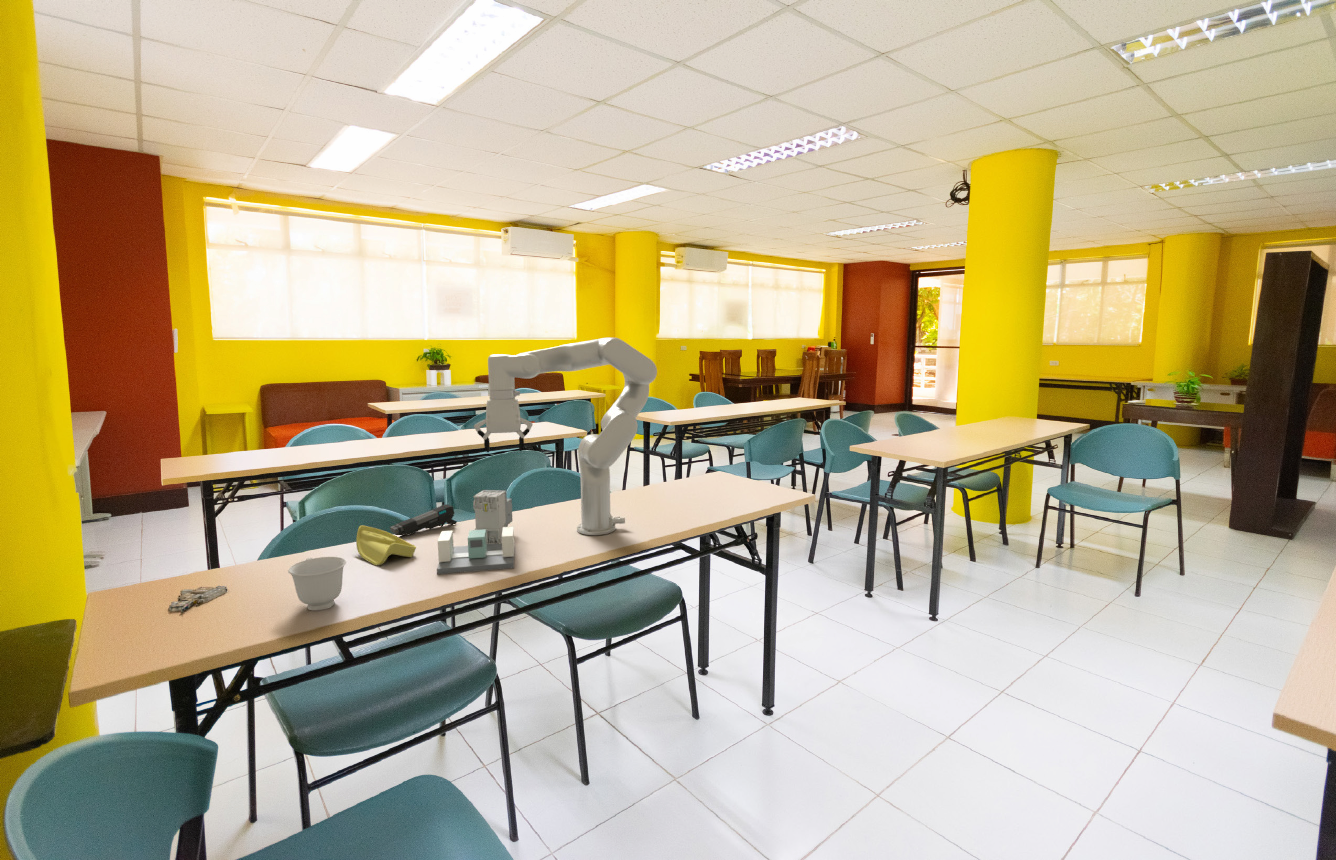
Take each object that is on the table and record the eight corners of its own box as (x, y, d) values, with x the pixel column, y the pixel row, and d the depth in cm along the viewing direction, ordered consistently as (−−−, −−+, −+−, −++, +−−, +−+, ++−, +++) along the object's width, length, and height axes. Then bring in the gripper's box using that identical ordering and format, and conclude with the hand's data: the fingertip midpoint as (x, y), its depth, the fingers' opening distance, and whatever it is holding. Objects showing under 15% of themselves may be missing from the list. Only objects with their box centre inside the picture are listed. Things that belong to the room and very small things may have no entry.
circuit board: (169, 620, 145) (168, 610, 144) (169, 598, 156) (168, 589, 156) (232, 606, 152) (231, 597, 152) (228, 586, 164) (227, 578, 163)
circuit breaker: (514, 530, 208) (512, 485, 206) (499, 544, 194) (496, 496, 192) (492, 529, 209) (490, 485, 207) (475, 543, 195) (473, 496, 193)
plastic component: (419, 548, 184) (389, 541, 177) (409, 572, 183) (378, 567, 175) (385, 530, 197) (355, 523, 189) (376, 553, 195) (345, 547, 188)
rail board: (514, 547, 192) (513, 522, 191) (513, 568, 175) (512, 540, 173) (445, 552, 188) (443, 526, 186) (437, 574, 170) (435, 546, 169)
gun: (460, 523, 215) (449, 498, 211) (406, 556, 203) (394, 530, 199) (454, 521, 218) (443, 496, 214) (401, 552, 206) (388, 527, 202)
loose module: (486, 549, 185) (485, 529, 184) (485, 557, 178) (484, 536, 177) (470, 550, 184) (469, 530, 183) (468, 558, 177) (467, 538, 176)
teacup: (337, 587, 161) (334, 550, 160) (356, 606, 150) (353, 565, 149) (283, 601, 153) (279, 561, 152) (299, 621, 142) (295, 578, 141)
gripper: (531, 393, 198) (533, 447, 200) (473, 394, 194) (476, 450, 196) (531, 395, 190) (533, 452, 193) (471, 397, 187) (474, 454, 189)
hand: (504, 451), depth 195 cm, fingers open, 9 cm apart
